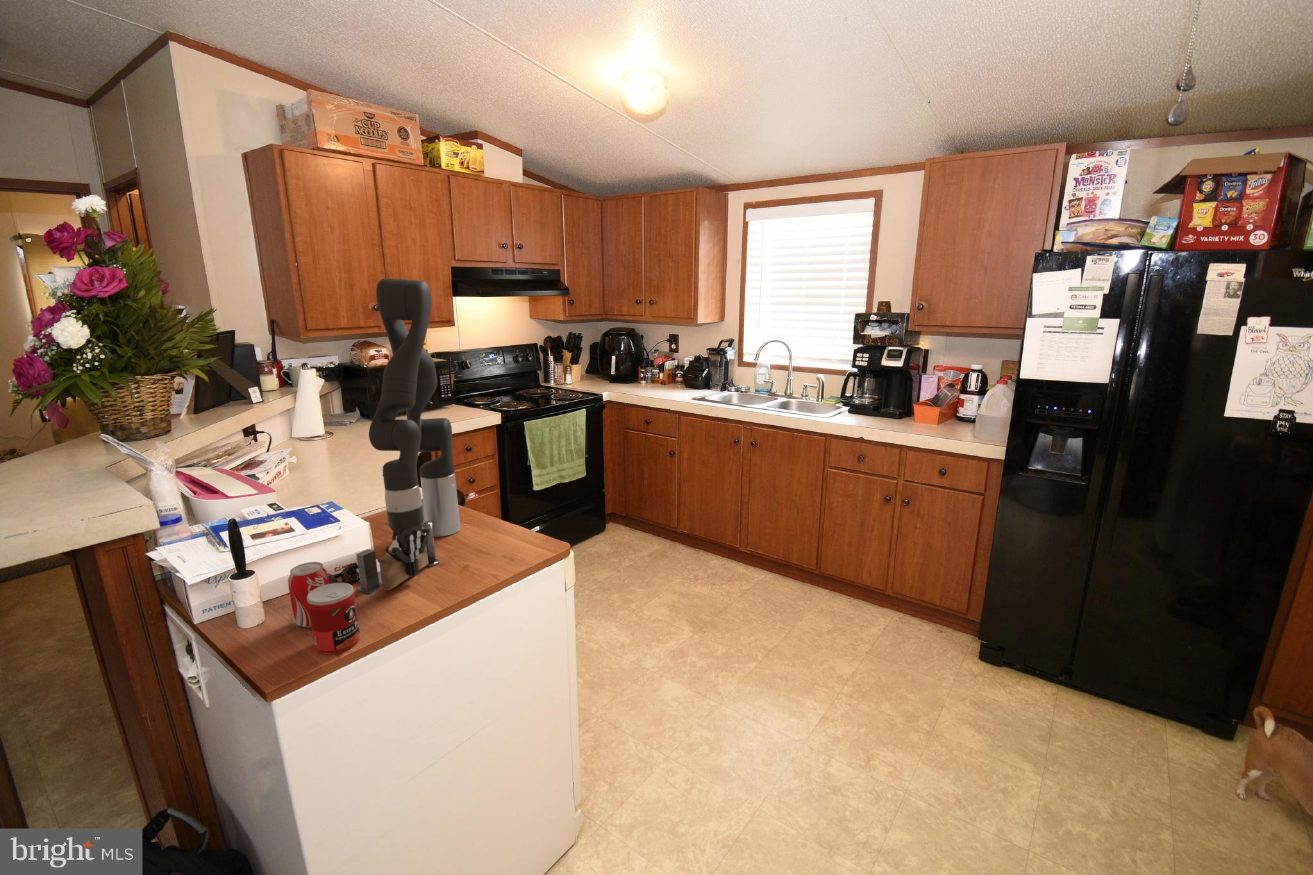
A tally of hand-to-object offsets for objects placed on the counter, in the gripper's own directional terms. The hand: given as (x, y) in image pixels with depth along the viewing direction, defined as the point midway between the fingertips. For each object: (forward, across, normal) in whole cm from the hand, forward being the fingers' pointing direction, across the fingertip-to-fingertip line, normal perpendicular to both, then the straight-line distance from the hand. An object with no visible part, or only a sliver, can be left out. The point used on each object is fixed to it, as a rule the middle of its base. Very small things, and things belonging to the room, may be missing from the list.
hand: (412, 574), depth 133 cm
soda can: (+2, -20, +9) cm, 22 cm away
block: (+2, +1, +11) cm, 11 cm away
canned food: (+2, -25, -2) cm, 25 cm away
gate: (+1, +1, +2) cm, 3 cm away
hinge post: (+2, +10, +2) cm, 10 cm away
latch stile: (+2, -5, +8) cm, 10 cm away
